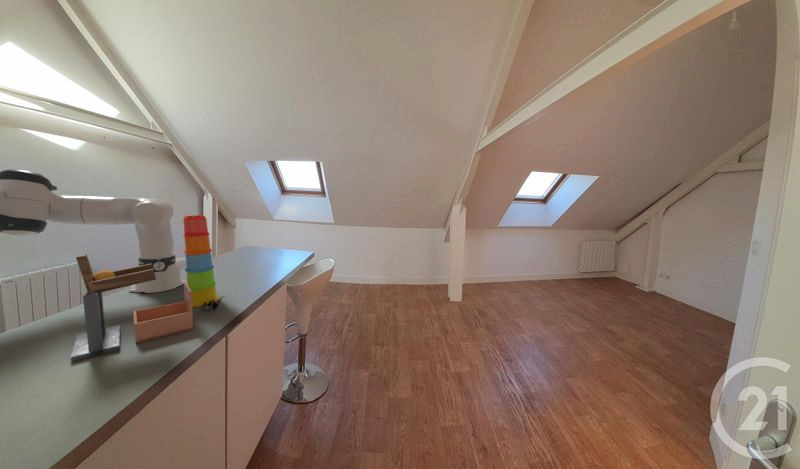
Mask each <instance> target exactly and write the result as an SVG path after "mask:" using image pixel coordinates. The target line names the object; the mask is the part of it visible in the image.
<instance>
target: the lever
mask: <svg viewBox="0 0 800 469" xmlns="http://www.w3.org/2000/svg"><path fill="white" fill-rule="evenodd" d="M75 259H76V262H77V265H78V267H79V271H80V274H81V276H82V279H83V282H84V285H85V288H86V293H93V292H98V293H101V292H102V293H103V292H104V293H105V292H110V291H115V290H117V289H121V288H126V287H132V286H133V285H135V284H139V283H144V282H148V281H152V280H156V277H155V273H154V269H153V267H152V264H147V265H142V266H139V265H138V266H137V265H136V266H132V267H128V268H122V269H117V270H113V271H112V270H111V272H113V273H114V274H115V277H112V278H107V279H103V280H98V281H94V276H95V275H96V274H94V273H93V271H92V266H91V263H90V260H89V258H88V255H87V253H81V254H77V255H76V256H75Z"/></svg>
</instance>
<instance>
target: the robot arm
mask: <svg viewBox="0 0 800 469" xmlns="http://www.w3.org/2000/svg"><path fill="white" fill-rule="evenodd" d="M57 190H58V187H57V186H55V185H53V184H52V182H51V181H50V180H49V179H48V178H47V177H45V176H44V175H43V174H41V173H37V172H34V171H30V170H26V169H25V170H24V169H5V170H2V171H0V233H2V234H7V235H11V236H12V235H13V236H21V237H22V236H30V235H38V234H40V233H43V232H44V231H45V229H46V227H47V224H48V221H50V222H53V223H59V224H60V223H61V224H69V225H70V224H71V225H93V226H94V225H96V226H97V225H98V226H100V225H102V226H103V225H105V226H106V225H109V226H112V225H113V226H118V225H134V228H135V231H136V235H137V239H138V248H139V250H138V252H139V257H138V266H142V265H147V264H152V267H153V269H154V273H155V277H156V280H152V281H148V282H144V283H139V284H135V285H131V286H130V288H132V287H134V286H136V287H134V288H132V289H130V288H129V289H128V292H129V293H141V292H145V293H146V294H151V293H162V292H166V291H170V290H174V289H177V288H178V286H179V287H181V286H184V285H183V284H184V282H186V283H187V280H184V279H182V273H181V267H180V266H179V265H177V263H176V260H177V259H176V255H175V251H174V250H175V249H174V246H175V245H174V237H173V232H172V228H171V227H172V226H171V219H172V218H173V216H174V209H173V206H172V205H171V204H170V203H169V202H168V201H167V200H165V199H161V198H152V197H151V198H147V197H117V196H116V197H114V196H112V197H111V196H95V195H94V196H93V195H61V194H56V193H54V192H52V191H57ZM47 220H48V221H47ZM140 284H141V285H140ZM138 285H139V286H138ZM180 285H181V286H180ZM176 287H177V288H176ZM145 293H144V294H145Z"/></svg>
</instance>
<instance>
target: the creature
mask: <svg viewBox="0 0 800 469" xmlns="http://www.w3.org/2000/svg"><path fill="white" fill-rule="evenodd" d="M223 298H224V296H221V297H220V298H219V299H218V303H217V301H216V302H215V300H214V299H213V300H214V301H210V302H209V303H208V302H204V304H203V305H201V306H200V307H202V308H201V309H199V311H197V313H199V312H202V311H204V312H207V313H209V312H210V310H211V309H213V310H214V311H215V310H216V309H217V308H219V305H220V303H221V300H222V299H223ZM207 300H208V299H207ZM212 302H213V303H212ZM207 303H208V305H207ZM204 305H205V306H204ZM206 307H207V308H209V307H210V308H209V309H208V310H207V311H206V310H205V308H206Z"/></svg>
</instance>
